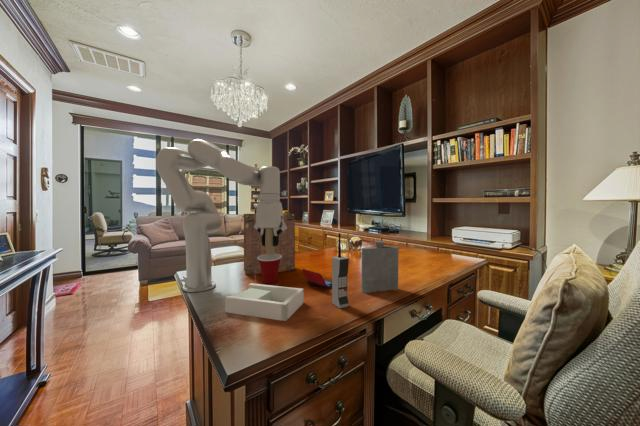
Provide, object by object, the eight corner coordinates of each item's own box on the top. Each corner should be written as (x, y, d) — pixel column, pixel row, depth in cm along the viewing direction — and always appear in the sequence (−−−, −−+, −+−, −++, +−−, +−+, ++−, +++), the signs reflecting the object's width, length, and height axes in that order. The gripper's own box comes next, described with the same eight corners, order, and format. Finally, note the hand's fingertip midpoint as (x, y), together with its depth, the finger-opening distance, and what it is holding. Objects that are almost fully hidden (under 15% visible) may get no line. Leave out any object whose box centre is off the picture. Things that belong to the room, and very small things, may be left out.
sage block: (233, 309, 87) (233, 296, 86) (250, 299, 95) (250, 287, 95) (255, 313, 83) (255, 300, 83) (271, 303, 91) (271, 291, 91)
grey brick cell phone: (339, 309, 86) (339, 234, 85) (332, 303, 90) (332, 233, 89) (349, 306, 87) (349, 233, 86) (341, 301, 92) (341, 232, 91)
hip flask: (363, 293, 100) (363, 242, 100) (359, 290, 104) (359, 241, 103) (399, 290, 104) (400, 241, 103) (394, 286, 108) (394, 239, 107)
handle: (278, 255, 99) (278, 216, 98) (261, 256, 98) (261, 216, 97) (278, 253, 103) (278, 216, 103) (262, 253, 103) (262, 216, 102)
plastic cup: (253, 285, 110) (253, 258, 110) (262, 278, 121) (262, 253, 120) (278, 286, 109) (277, 258, 108) (284, 279, 119) (284, 253, 119)
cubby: (225, 312, 83) (225, 297, 83) (251, 296, 98) (250, 283, 97) (285, 321, 77) (285, 304, 77) (303, 302, 91) (303, 288, 91)
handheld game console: (339, 286, 109) (339, 269, 109) (320, 292, 102) (320, 274, 102) (319, 280, 119) (319, 264, 119) (301, 285, 112) (301, 268, 111)
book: (244, 275, 126) (244, 214, 125) (243, 270, 135) (243, 213, 134) (295, 270, 135) (294, 213, 134) (291, 266, 144) (290, 213, 142)
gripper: (245, 198, 99) (246, 245, 99) (285, 198, 94) (285, 248, 94) (256, 198, 106) (256, 243, 106) (293, 198, 101) (293, 245, 102)
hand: (270, 245), depth 100 cm, fingers closed on handle, 4 cm apart
